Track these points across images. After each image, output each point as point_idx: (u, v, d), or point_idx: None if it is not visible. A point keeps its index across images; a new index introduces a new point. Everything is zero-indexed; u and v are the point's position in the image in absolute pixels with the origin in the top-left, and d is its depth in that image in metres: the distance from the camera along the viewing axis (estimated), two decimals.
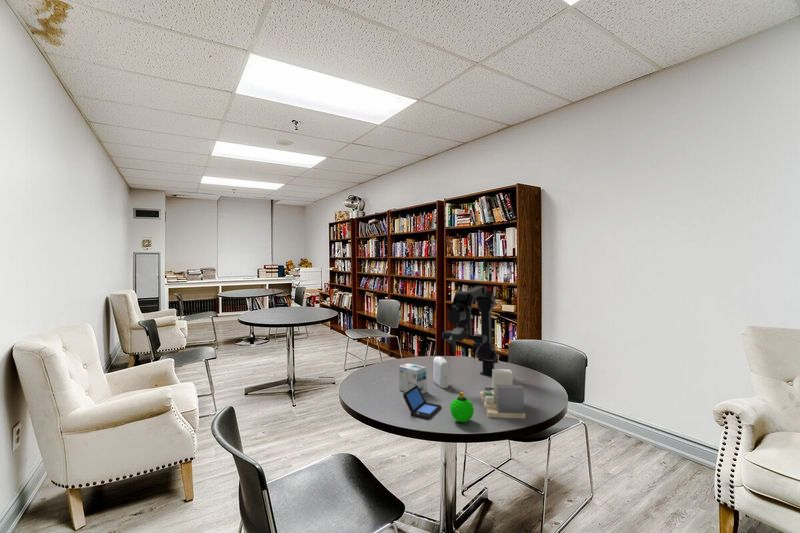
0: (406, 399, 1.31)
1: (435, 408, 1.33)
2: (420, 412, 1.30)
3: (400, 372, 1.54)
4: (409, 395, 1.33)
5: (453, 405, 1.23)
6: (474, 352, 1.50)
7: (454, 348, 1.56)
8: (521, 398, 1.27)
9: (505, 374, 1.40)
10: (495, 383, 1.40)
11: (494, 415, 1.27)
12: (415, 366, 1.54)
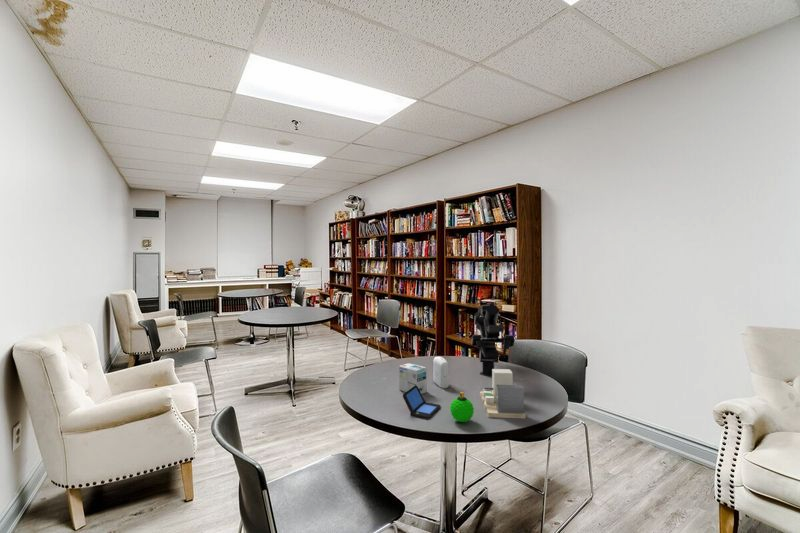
0: (406, 399, 1.30)
1: (435, 408, 1.33)
2: (420, 412, 1.30)
3: (400, 372, 1.54)
4: (409, 395, 1.33)
5: (453, 405, 1.23)
6: (505, 350, 1.58)
7: None
8: (521, 398, 1.27)
9: (505, 374, 1.40)
10: (495, 383, 1.40)
11: (494, 415, 1.27)
12: (415, 366, 1.54)
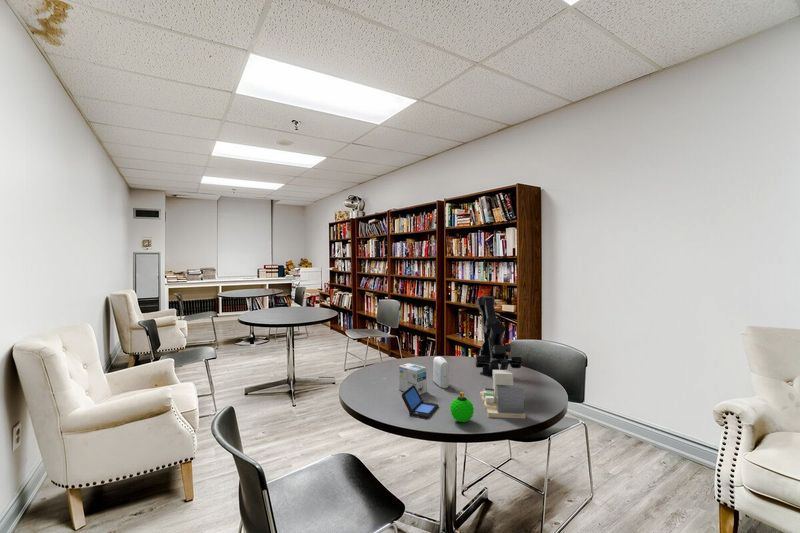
0: (404, 399, 1.31)
1: (433, 407, 1.34)
2: (419, 412, 1.30)
3: (400, 372, 1.54)
4: (407, 395, 1.33)
5: (453, 405, 1.23)
6: None
7: None
8: (521, 398, 1.27)
9: (505, 374, 1.39)
10: (495, 384, 1.40)
11: (494, 415, 1.27)
12: (415, 366, 1.54)
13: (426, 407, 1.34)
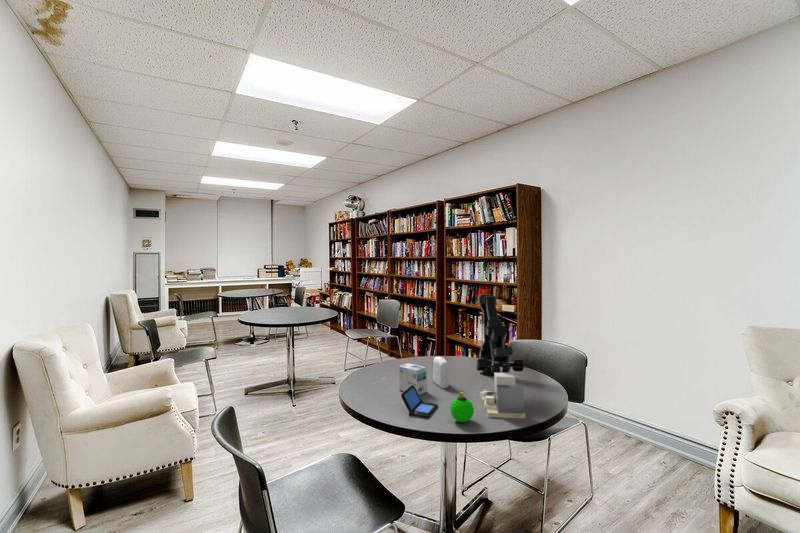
0: (404, 399, 1.31)
1: (432, 407, 1.34)
2: (418, 412, 1.30)
3: (400, 372, 1.54)
4: (406, 395, 1.33)
5: (453, 405, 1.23)
6: None
7: None
8: (521, 398, 1.27)
9: (508, 377, 1.35)
10: None
11: (494, 415, 1.27)
12: (415, 366, 1.54)
13: (425, 407, 1.34)
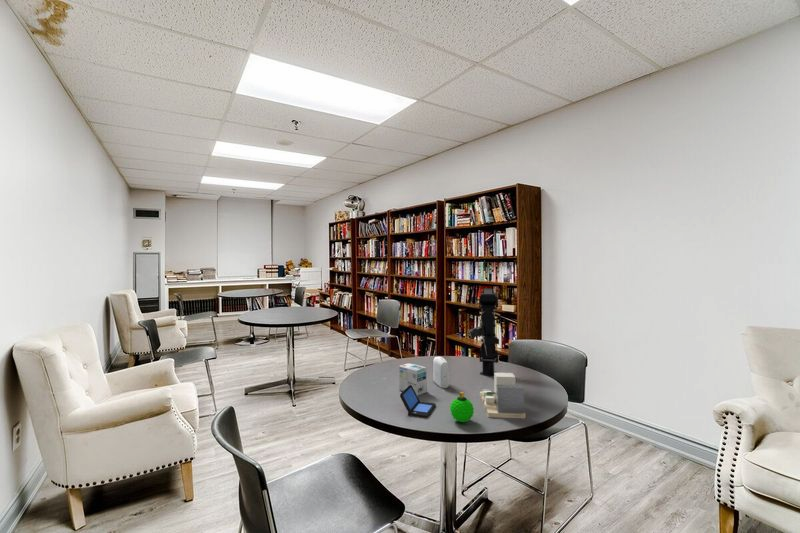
0: (403, 399, 1.31)
1: (431, 407, 1.35)
2: (417, 411, 1.30)
3: (400, 372, 1.54)
4: (405, 395, 1.33)
5: (453, 405, 1.23)
6: (486, 350, 1.60)
7: None
8: (521, 398, 1.27)
9: (508, 377, 1.35)
10: None
11: (494, 415, 1.27)
12: (415, 366, 1.54)
13: (424, 406, 1.35)
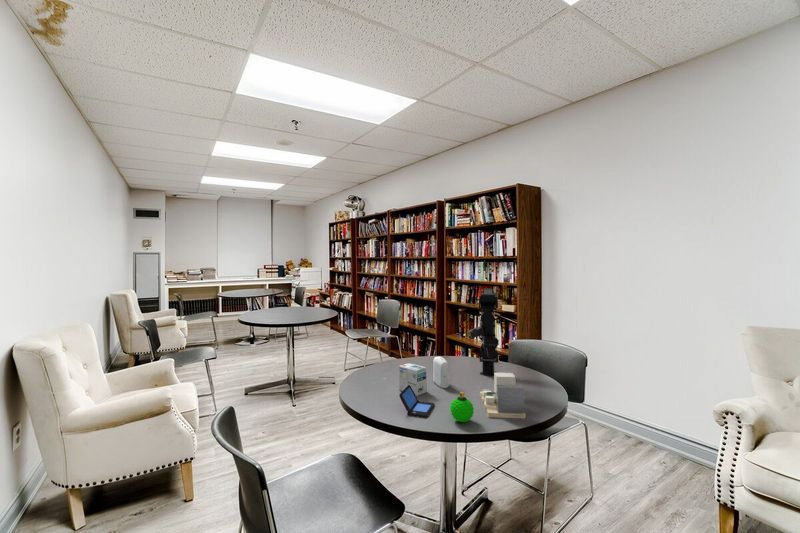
0: (402, 399, 1.31)
1: (430, 406, 1.35)
2: (416, 411, 1.31)
3: (400, 372, 1.54)
4: (404, 395, 1.33)
5: (453, 405, 1.23)
6: (487, 353, 1.55)
7: (486, 347, 1.65)
8: (521, 398, 1.27)
9: (508, 377, 1.35)
10: None
11: (494, 415, 1.27)
12: (415, 366, 1.54)
13: (423, 406, 1.35)
